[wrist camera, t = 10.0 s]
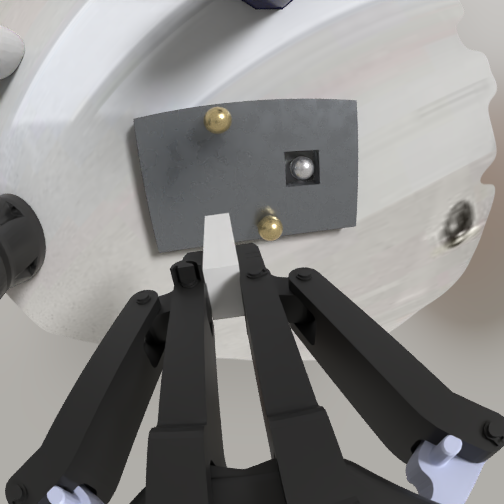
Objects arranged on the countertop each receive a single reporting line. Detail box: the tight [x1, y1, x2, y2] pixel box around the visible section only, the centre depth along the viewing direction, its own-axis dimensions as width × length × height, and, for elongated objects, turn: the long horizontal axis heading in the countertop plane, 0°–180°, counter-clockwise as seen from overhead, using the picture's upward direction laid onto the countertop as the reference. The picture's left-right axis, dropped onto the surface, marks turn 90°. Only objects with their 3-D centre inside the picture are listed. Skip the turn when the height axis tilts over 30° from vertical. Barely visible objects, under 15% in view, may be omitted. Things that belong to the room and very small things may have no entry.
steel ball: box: [290, 156, 314, 180], centre depth 35 cm, size 3×3×3 cm
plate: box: [134, 99, 358, 253], centre depth 35 cm, size 28×18×2 cm, turn 95°
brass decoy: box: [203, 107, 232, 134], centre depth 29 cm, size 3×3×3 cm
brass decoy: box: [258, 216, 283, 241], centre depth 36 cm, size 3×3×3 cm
